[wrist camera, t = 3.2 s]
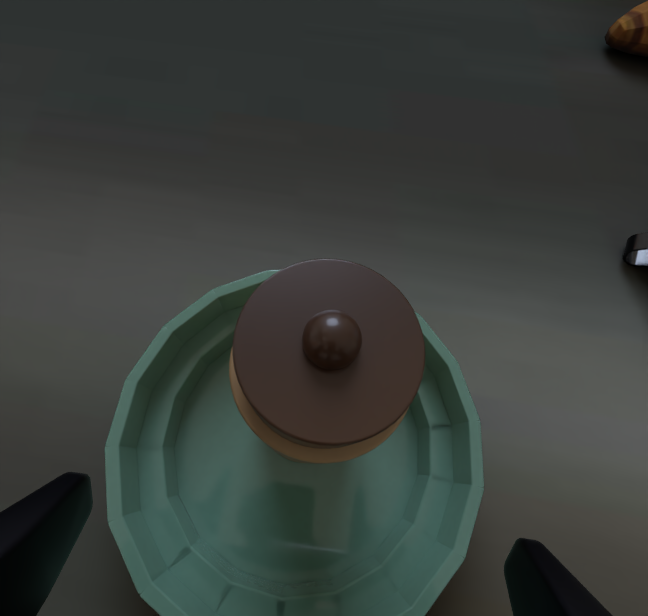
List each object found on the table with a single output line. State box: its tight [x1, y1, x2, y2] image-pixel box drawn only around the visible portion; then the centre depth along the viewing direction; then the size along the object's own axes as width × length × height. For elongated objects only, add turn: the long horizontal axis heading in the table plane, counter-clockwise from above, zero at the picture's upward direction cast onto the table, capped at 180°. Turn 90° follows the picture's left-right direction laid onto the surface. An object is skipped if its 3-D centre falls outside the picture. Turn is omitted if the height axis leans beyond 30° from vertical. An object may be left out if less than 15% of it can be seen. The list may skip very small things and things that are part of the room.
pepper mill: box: [229, 259, 425, 463], centre depth 13 cm, size 5×5×12 cm
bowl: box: [105, 270, 484, 616], centre depth 16 cm, size 14×14×4 cm
